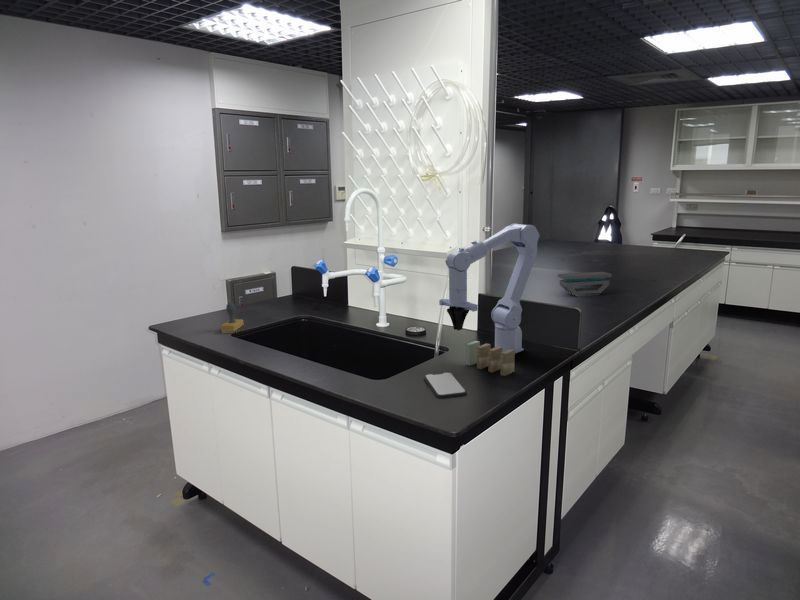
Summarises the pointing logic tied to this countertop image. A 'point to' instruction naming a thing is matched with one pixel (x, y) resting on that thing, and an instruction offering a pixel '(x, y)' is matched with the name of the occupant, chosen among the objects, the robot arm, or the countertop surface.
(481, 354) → the maple domino
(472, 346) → the domino sage
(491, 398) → the countertop surface
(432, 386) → the phone case
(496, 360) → the maple domino
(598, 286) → the sharpening stone
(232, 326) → the rubber stamp
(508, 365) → the maple domino
